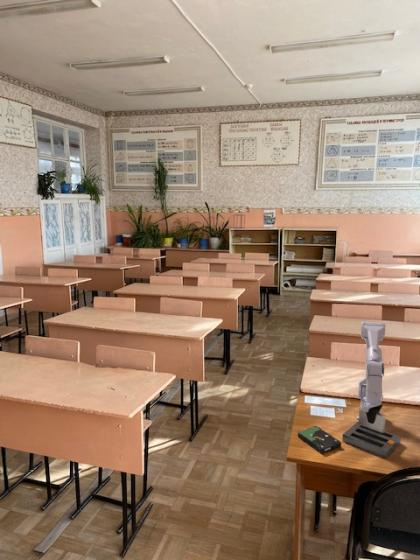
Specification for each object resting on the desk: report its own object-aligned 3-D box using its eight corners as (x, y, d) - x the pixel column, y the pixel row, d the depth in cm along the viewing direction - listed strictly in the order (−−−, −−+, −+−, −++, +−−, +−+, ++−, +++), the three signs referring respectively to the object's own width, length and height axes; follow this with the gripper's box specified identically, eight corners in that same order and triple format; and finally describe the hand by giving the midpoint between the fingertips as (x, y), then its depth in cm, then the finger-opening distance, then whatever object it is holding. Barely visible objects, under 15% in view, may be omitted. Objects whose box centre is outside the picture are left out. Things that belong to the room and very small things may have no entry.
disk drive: (341, 448, 170) (315, 430, 183) (341, 441, 170) (315, 424, 183) (322, 455, 166) (296, 437, 178) (322, 449, 165) (297, 431, 178)
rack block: (357, 427, 184) (357, 420, 184) (400, 443, 172) (400, 436, 171) (342, 441, 174) (342, 433, 174) (386, 458, 162) (387, 450, 161)
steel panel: (360, 423, 176) (361, 407, 175) (384, 431, 169) (385, 415, 168) (358, 424, 175) (359, 408, 174) (383, 433, 168) (383, 416, 167)
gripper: (371, 381, 177) (370, 412, 179) (355, 393, 167) (354, 425, 169) (388, 386, 172) (386, 417, 175) (373, 398, 162) (371, 431, 164)
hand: (372, 421), depth 172 cm, fingers closed on steel panel, 2 cm apart
